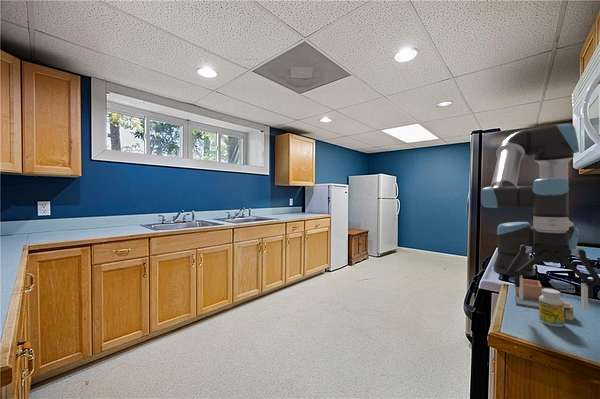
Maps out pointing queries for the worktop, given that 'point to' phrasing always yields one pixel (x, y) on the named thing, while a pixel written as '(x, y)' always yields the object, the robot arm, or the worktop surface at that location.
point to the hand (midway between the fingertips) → (551, 302)
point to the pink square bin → (530, 289)
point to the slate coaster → (527, 302)
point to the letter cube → (568, 311)
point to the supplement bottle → (551, 308)
